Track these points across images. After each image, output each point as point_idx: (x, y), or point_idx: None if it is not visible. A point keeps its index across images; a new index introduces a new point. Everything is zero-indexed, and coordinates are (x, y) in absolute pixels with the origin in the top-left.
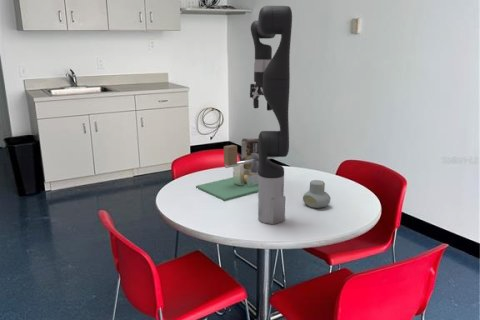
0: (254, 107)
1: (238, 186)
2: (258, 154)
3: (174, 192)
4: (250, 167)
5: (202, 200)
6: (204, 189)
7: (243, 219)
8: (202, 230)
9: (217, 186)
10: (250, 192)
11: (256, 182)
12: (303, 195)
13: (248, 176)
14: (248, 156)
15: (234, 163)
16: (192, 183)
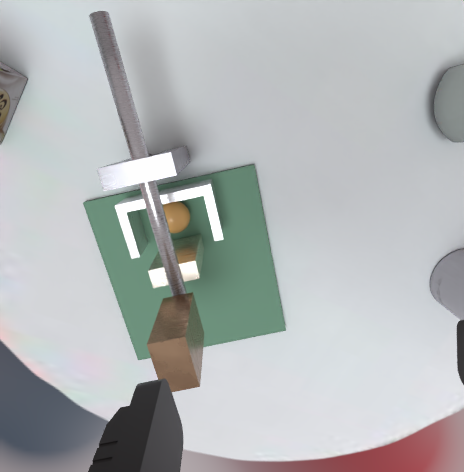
0: (176, 446)
1: None
2: (141, 167)
3: None
4: (3, 111)
5: (250, 372)
6: None
7: (421, 334)
8: (418, 424)
9: None
10: (268, 240)
11: (214, 192)
12: (454, 135)
13: (221, 236)
14: None
15: (196, 306)
16: (92, 352)
